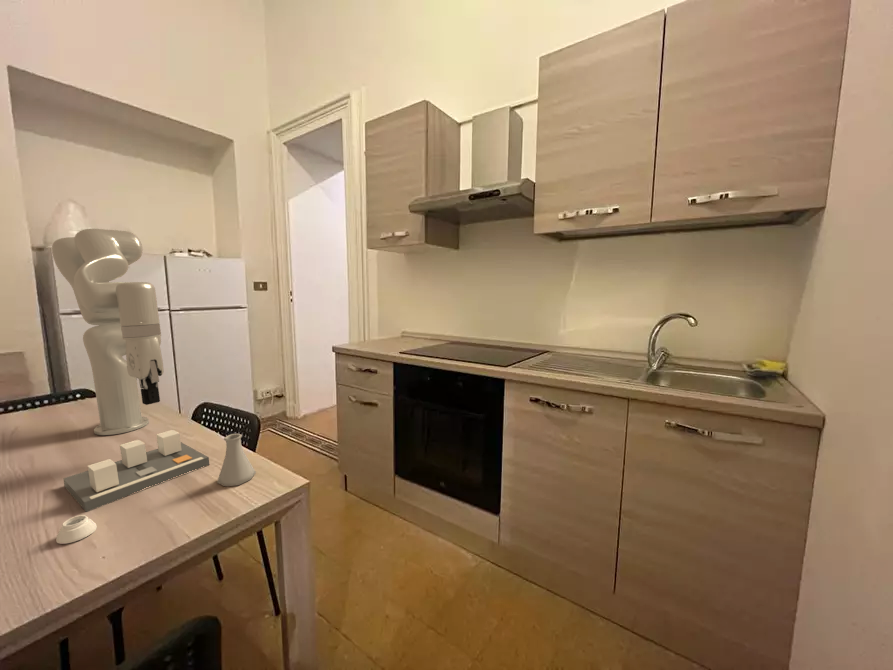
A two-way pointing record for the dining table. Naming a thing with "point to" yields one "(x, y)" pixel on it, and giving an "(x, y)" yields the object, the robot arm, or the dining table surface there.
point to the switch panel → (135, 476)
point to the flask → (235, 463)
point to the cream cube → (168, 442)
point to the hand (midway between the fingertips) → (151, 402)
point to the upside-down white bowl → (75, 529)
